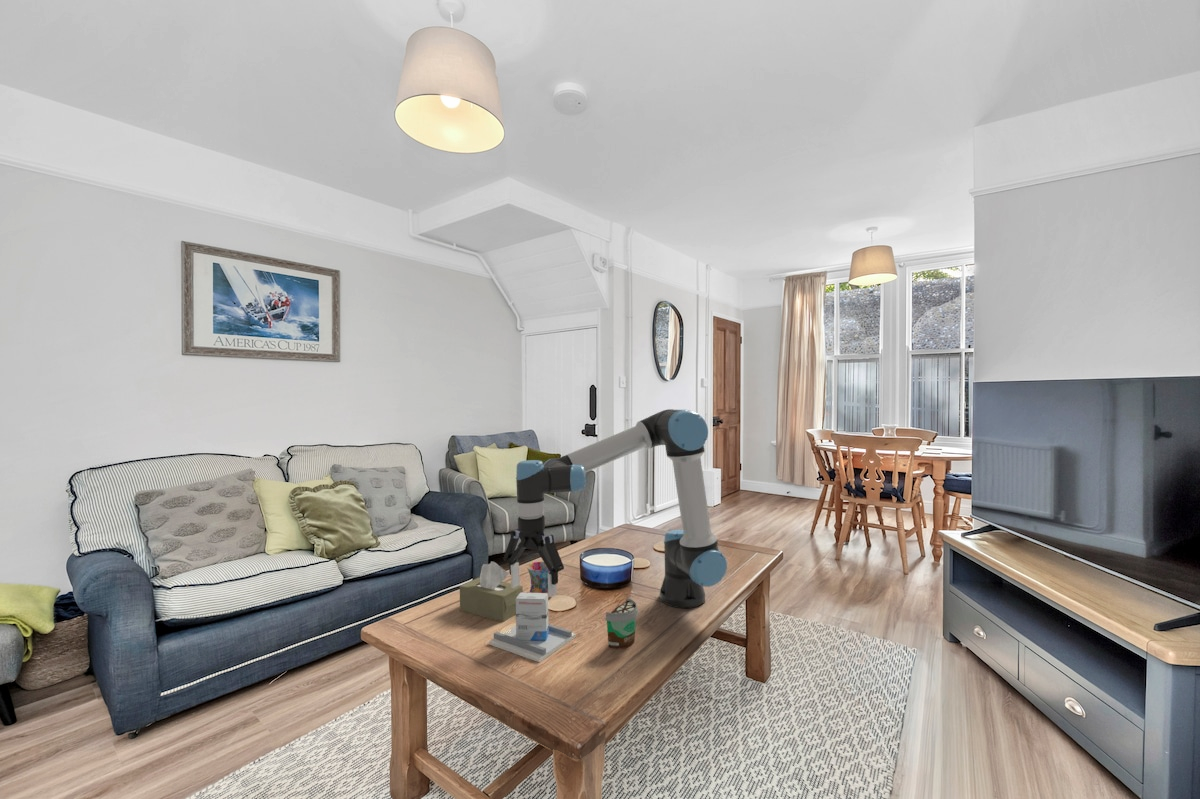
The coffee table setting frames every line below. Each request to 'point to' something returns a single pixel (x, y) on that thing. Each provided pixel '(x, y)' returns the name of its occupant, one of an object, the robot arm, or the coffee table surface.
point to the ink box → (532, 616)
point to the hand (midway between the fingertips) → (533, 590)
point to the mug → (538, 577)
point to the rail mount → (533, 643)
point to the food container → (622, 625)
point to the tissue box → (490, 594)
